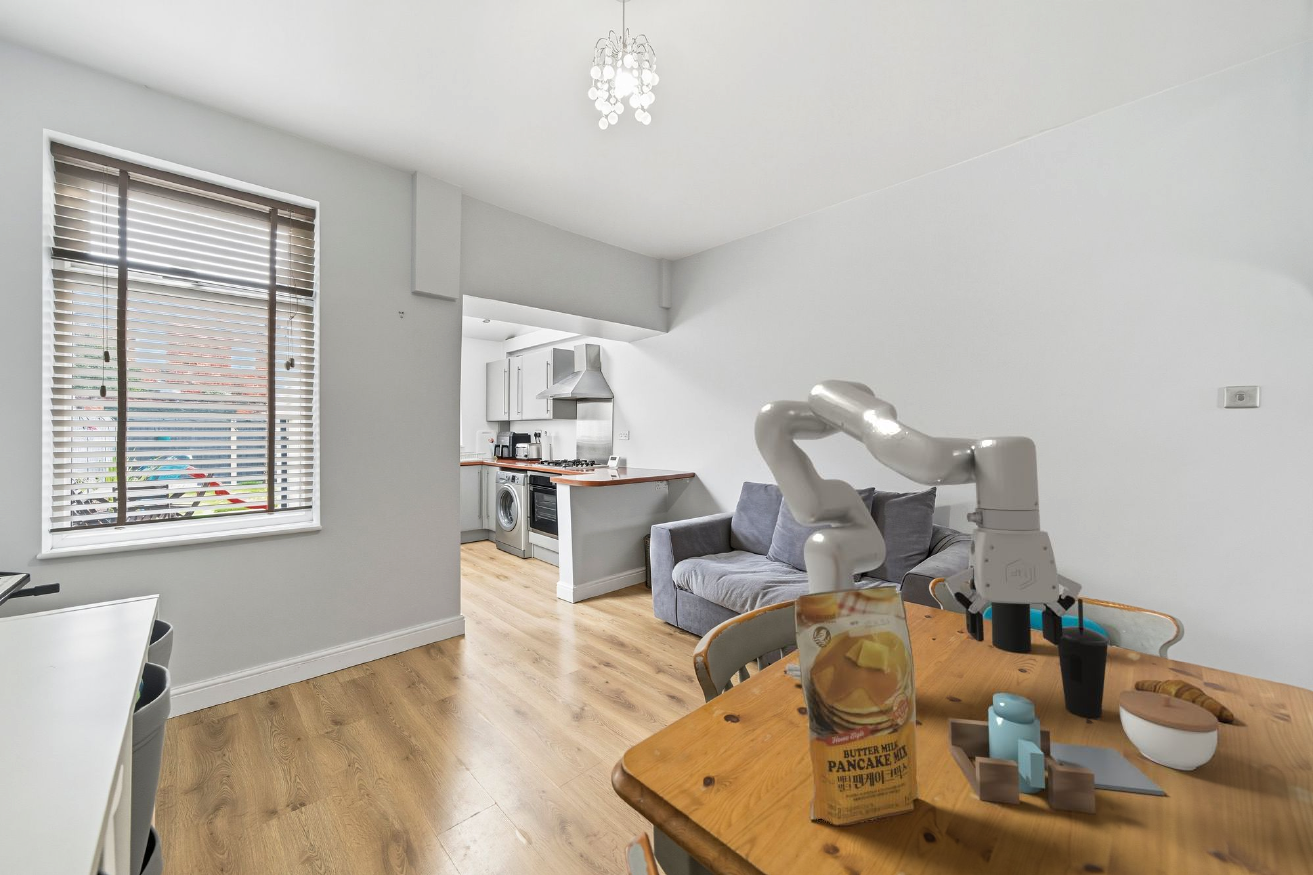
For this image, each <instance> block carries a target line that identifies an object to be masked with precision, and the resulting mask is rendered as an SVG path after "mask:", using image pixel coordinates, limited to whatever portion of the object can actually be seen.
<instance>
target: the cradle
mask: <svg viewBox="0 0 1313 875" xmlns="http://www.w3.org/2000/svg"><path fill="white" fill-rule="evenodd" d="M947 720H948V723H947V726H948V751H949V753H950V755H951V756H952V757H953V760H954V761H955V763H956V764H957V765H958V767H959V768H960V770H961V772H962V774H963V775H964V776H965V778H966V780H967V781H968V783H969V785H970V787H972V789H973V791H974V792H975V794H976V796H977V797H978V799H979V800H980V801H986V802H987V801H988V802H994V801H995V802H996V803H1004V804H1012V805H1020V792H1019V766H1018V765H1017V764H1016V762H1015V761H1013V760H1003V759H994V758H990V755H989V721H986V720H985V721H984V720H983V721H982V720H973V719H963V718H952V717H948V718H947ZM1050 742H1051V731H1050V730H1049V729H1048V728H1047V727H1046V726H1041V725H1040V747H1041V751H1042V752H1043V753H1044V770H1046V771H1047V780H1048V781H1047V787H1048V788H1047V789H1048V793H1047V794H1048V803H1049V805H1050V806H1051V807H1052V808H1053V809H1054V810H1060V811H1061V810H1063V811H1071V812H1080V813H1087V814H1096V790H1095V789H1096V788H1095V783H1094V773H1093V772H1092V771H1090V770H1089V769H1088V768H1080V767H1070V766H1060V765H1059V764H1058V763H1057V761H1056V760H1055V759H1054V758H1053V757H1052V756H1051V755H1050ZM970 758H974V759H975V766H974V764H973V763H972V761H971V760H970Z"/></svg>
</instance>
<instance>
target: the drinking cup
mask: <svg viewBox="0 0 1313 875" xmlns="http://www.w3.org/2000/svg"><path fill="white" fill-rule="evenodd" d="M1077 612H1078V613H1077V620H1078V621H1077V622H1078V626H1076V625H1070V626H1062V633H1063V636H1062V637H1060V641H1061V645H1057V651H1058V652H1057V653H1058V659H1059V666H1060V674H1061V681H1062V689H1063V696H1064V704H1065V705H1064V706H1065V709H1066V711H1068V712H1069V713H1071V714H1072V715H1074V716H1075V715H1076V716H1078V717H1081V718H1084V719H1090V720H1099V719H1101V717H1102V709H1103V698H1104V690H1105V688H1104V687H1105V680H1106V679H1105V677H1106V666H1107V656H1108V647H1109V646H1108V645H1110V642H1111V640H1110V638H1109V637H1107V636H1106V635H1103V634H1101V633H1099V632H1098V631H1096V630H1093V629H1090V628H1088V627H1084V600H1083V599H1082V598H1077Z"/></svg>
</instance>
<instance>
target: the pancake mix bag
mask: <svg viewBox="0 0 1313 875" xmlns="http://www.w3.org/2000/svg"><path fill="white" fill-rule="evenodd" d="M904 601H905V600H904V597H903V593H902V590H898V591H897V586H896V585H882V586H874V587H873V586H872V587H866V588H857V589H844V590H835V591H828V592H819V593H813V594H808V593H807V594H803V595H800V596H799V597H798V598H797V599H796V600H794V602H793V603H792V604H793V608H792V610H793V626H794V627H793V628H794V634H795V635H794V637H795V638H794V639H795V642H796V646H797V651H798V660H799V661H798V662H799V665H800V673H801V679H800V680H801V681H800V682H801V689H802V693H803V699H804V703H805V706H806V712H807V713H806V714H807V717H808V718H807V719H808V739H809V740H808V741H809V742H808V743H809V754H810V760H811V766H812V774H813V785H814V788H813V789H814V790H813V797H812V799H811V807H810V814H809V821H812V820H813V821H819V820H818V819H823V820H825V821H826V823H827V822H829V823H831V824H833V825H834V826H835V827H837V826H839V825H840V826H850V825H854V824H859V823H858V822H860V823H865V822H864V821H866V822H868V821H867V820H871V821H874V819H875V820H878V819H877V818H879V819H881V818H882V817H883V818H885V817H893V816H898V815H903V814H907V813H909V812H912V811H914V810H915V807H914V801H915V800H917V799H918V798H920V794H919V789H918V783H917V782H918V781H917V770H918V769H917V768H918V764H917V763H918V762H917V761H918V757H917V747H918V744H917V730H916V729H917V728H916V726H917V725H916V719H917V718H916V709H917V707H916V682H915V676H914V675H915V671H914V669H915V668H914V667H915V666H914V665H915V664H914V656H913V648H912V642H911V637H910V636H911V635H910V630H909V626H908V621H907V620H908V618H907V610H906V606H905V602H904ZM816 819H817V820H816ZM823 820H822V821H823ZM825 821H824V822H825ZM829 823H828V824H829ZM831 824H830V825H831ZM833 825H832V826H833ZM840 826H839V827H840Z"/></svg>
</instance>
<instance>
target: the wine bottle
mask: <svg viewBox="0 0 1313 875" xmlns="http://www.w3.org/2000/svg"><path fill="white" fill-rule="evenodd" d="M990 603H991V640H992V642H991V643H992V646H994V647H995V648H997V649H999V650H1002V651H1005V652H1009V653H1013V654H1015V653H1016V654H1028V653H1031V652H1032V633H1031V632H1032V631H1031V627H1032V626H1031V623H1032V622H1031V604H1018V603H996V602H990Z"/></svg>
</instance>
